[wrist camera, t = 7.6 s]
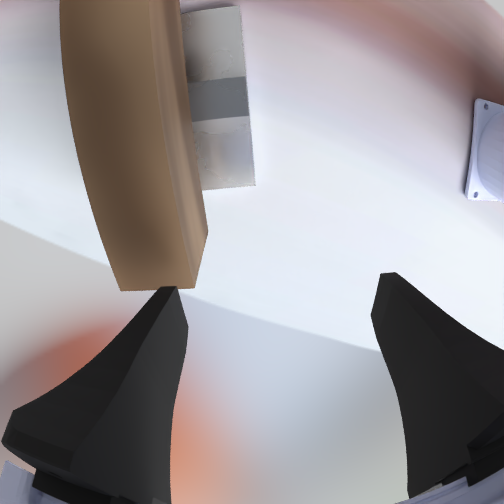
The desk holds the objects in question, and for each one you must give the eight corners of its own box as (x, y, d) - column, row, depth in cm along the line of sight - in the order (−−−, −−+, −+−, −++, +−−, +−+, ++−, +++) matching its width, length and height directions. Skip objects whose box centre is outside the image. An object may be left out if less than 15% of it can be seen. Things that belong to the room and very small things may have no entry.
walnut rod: (177, -21, 9) (146, -59, 5) (208, 231, 16) (194, 288, 12) (112, -2, 9) (60, -24, 5) (150, 236, 17) (120, 291, 12)
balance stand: (239, 8, 12) (237, -7, 10) (255, 182, 18) (256, 200, 16) (94, 40, 13) (69, 37, 10) (121, 197, 18) (103, 217, 16)
